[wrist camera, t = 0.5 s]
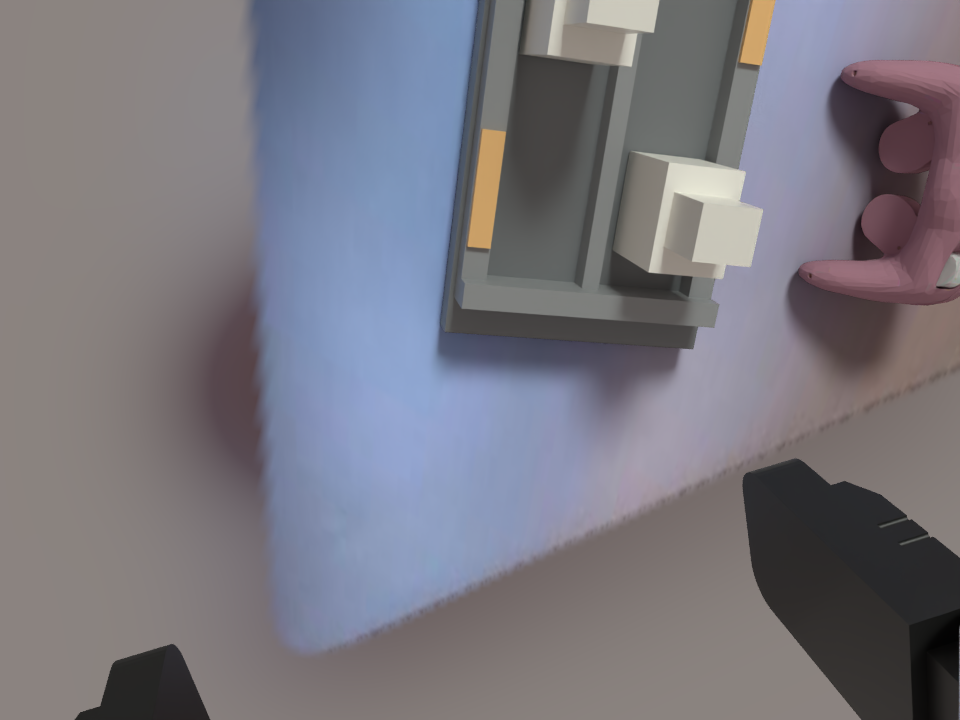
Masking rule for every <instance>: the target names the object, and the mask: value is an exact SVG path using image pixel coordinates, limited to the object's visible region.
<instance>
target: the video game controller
mask: <svg viewBox="0 0 960 720" xmlns="http://www.w3.org/2000/svg"><path fill="white" fill-rule="evenodd" d="M841 79H842V80H843V81H844V83H846V84H848V85H849V86H851V87H854V88H856V89H858V90H861V91H863V92H866V93H870V94H873V95H877V96H880V97H884V98H888V99H891V100H895V101H899V102H904V103H908V104H911V105H913V106H915V107H917V108H919V109H920V110H919V112H918V113H917V114H914V115H912V116H910V117H908V118H905V119H902V120H899V121H897V122H895V123H893V124H891V125H890V126H888V127H887V128H886V129H885V131H884V132H883V134H882V136H881V138H880V142H879V156H880V160H881V162H882V164H883V165H884V166H885V167H886V168H887V169H889V170H890V171H892V172H896V173H907V174H915V173H921V172H924V171H928V170H929V174H928V178H927V182H926V186H925V190H924V194H923V198H922V202H921V205H920V204H919V203H918V202H916V201H915V200H913V199H911V198H909V197H906V196H899V195H893V194H883V195H880V196H878V197H876V198H874V199H873V200H872V201H871V202H870V203H869V204H868V205H867V207H866V208H865V210H864V213H863V215H862V221H861V226H862V230H863V233H864V235H865V236H866V237H867V238H868V239H869V240H870V241H871V242H872V243H873V244H874V245H876V246H877V247H878V248H879V249H880V250H881V251H882V252H883V253H884V256H883V257H882V258H879V259H873V260H866V261H851V260H823V261H812V262H806V263H804V264H802V265H801V266H800V267H799V269H798V270H799V275H800V277H802V278H803V279H804V280H805V281H806V282H808V283H810V284H812V285H814V286H816V287H819V288H821V289H823V290H828V291H832V292H836V293H841V294H845V295H849V296H854V297H858V298H862V299H867V300H873V301H879V302H892V303H902V304H911V305H933V304H939V303H945V302H949V301H952V300H954V299H956V298H958V297H959V296H960V66H959V65H954V64H949V63H941V62H933V61H914V60H869V61H862V62H857V63H854V64H851V65H849V66H847V67H846V68H844V69H843V70H842V73H841Z"/></svg>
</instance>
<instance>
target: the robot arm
mask: <svg viewBox="0 0 960 720" xmlns="http://www.w3.org/2000/svg"><path fill="white" fill-rule="evenodd" d="M743 496H744V504H745V512H746V521H747V529H748V538H749V546H750V554H751V562H752V568H753V572H754V576H755V579H756V582H757V584H758V587H759V589H760V591H761V594H762V596H763V597H764V599H765V601H766V602H767V604H768V606H769V607H770V609H771V610H772V611H773V612H774V613H775V615H776V616H777V617H778V618H779V619H780V621H781V622H782V623H783V624H784V625H785V627H786V628H787V629H788V631H789V632H790V633H791V634H792V635H793V637H794V638H795V639H796V640H797V642H798V643H799V644H800V645H801V646H802V648H803V649H804V650H805V651H806V652H807V654H808V655H809V656H810V657H811V659H812V660H813V661H814V662H815V664H816V665H817V666H818V667H819V668H820V669H821V671H822V672H823V673H824V674H825V675H826V677H827V678H828V679H829V681H830V682H831V683H832V684H833V685H834V687H835V688H836V689H837V690H838V692H839V693H840V694H841V695H842V696H843V698H844V699H845V700H846V701H847V703H848V704H849V705H850V706H851V707H852V709H853V710H854V711H855V712H856V714H857V715H858V716H859V717H860V718H861V720H960V558H959V557H958V556H957V555H956V554H954V553H953V552H952V551H951V550H949V549H948V548H947V547H946V546H944V545H943V544H942V543H941V542H939V541H938V540H937V539H936V538H934V537H931V538H930V537H929V535H928V532H927V531H925V530H924V529H923V528H922V527H920V526H919V525H918V524H917V523H916V522H914V521H913V520H908V519H907V515H906V514H904V513H903V512H902V511H901V510H899V509H898V508H897V507H895V506H894V505H893V504H892V503H890V502H889V501H888V500H887V499H885V498H884V497H883V496H882V495H880V494H877V493H875V492H872V491H870V490H867V489H864V488H862V487H859V486H856V485H853V484H851V483H848V482H846V481H843V482H840V483H837V484H834V485H830V484H829V483H827V482H826V481H825V480H824V479H823V478H822V477H821V476H819V475H818V474H817V473H816V472H815V471H814V470H812V469H811V468H810V467H809V466H808V465H806V464H805V463H804V462H803V461H801V460H799V459H791V460H788V461H785V462H781V463H778V464H775V465H772V466H768V467H765V468H761V469H758V470H755V471H751V472H748V473H746V474H745V475H744V477H743ZM75 720H210V719H209V716H208V714H207V711H206V709H205V707H204V704H203V702H202V700H201V698H200V695H199V693H198V691H197V688H196V686H195V684H194V681H193V679H192V677H191V674H190V672H189V670H188V667H187V665H186V663H185V660H184V658H183V656H182V654H181V652H180V651H179V649H178V648H177V647H176V646H175V645H173V644H170V645H167V646H163V647H160V648H157V649H154V650H150V651H147V652H144V653H141V654H137V655H133V656H130V657H127V658H124V659H120V660H117V661H115V662H114V663H113V665H112V667H111V670H110V674H109V677H108V681H107V685H106V688H105V692H104V695H103V698H102V702H101V706H100V707H96V708H93V709H90V710H86V711H83V712H80V713H79V715H78V716H77V718H76V719H75Z"/></svg>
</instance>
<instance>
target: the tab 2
mask: <svg viewBox="0 0 960 720" xmlns="http://www.w3.org/2000/svg"><path fill="white" fill-rule="evenodd" d="M745 174H746V172H745V171H742V170H738V169H734V168H730V167H727V166H723V165H719V164H716V163H712V162H708V161H704V160H701V159H694V158H686V157H678V156H669V155H661V154H653V153H644V152H636V151H630V153H629V159H628V164H627V170H626V176H625V182H624V187H623V193H622V199H621V204H620V210H619V216H618V221H617V227H616V233H615V239H614V244H613V251H615V252H616V253H618V254H620V255H621V256H623V257H624V258H626V259H628V260H629V261H631V262H632V263H634V264H636V265H637V266H639V267H640V268H642V269H644V270H645V271H647V272H649V273H660V274H671V275H682V276H693V277H705V278H716V279H723V276H724V272H725V267H726V265H733V266H744V267H751V263H752V258H753V254H754V249H755V245H756V240H757V236H758V231H759V227H760V223H761V218H762V214H763V209H761V208H758V207H755V206H752V205H749V204H746V203H743V202H740V197H741V192H742V188H743V183H744V178H745Z"/></svg>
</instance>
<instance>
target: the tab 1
mask: <svg viewBox="0 0 960 720" xmlns="http://www.w3.org/2000/svg"><path fill="white" fill-rule="evenodd" d="M658 6H659V0H526V6H525V13H524V20H523V28H522V35H521V43H520V50H519V54H523V55H530V56H537V57H544V58H551V59H558V60H565V61H572V62H579V63H586V64H593V65H608V66H627V67H632V62H633V56H634V50H635V45H636V39H637V34H638V33H654V28H655V23H656V17H657V11H658Z"/></svg>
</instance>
